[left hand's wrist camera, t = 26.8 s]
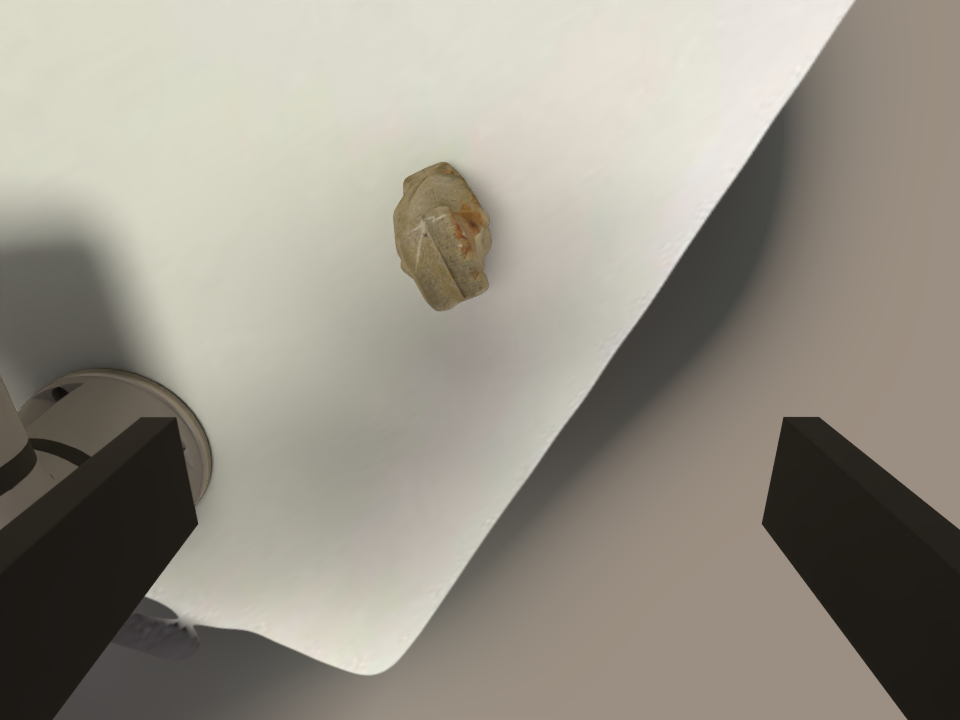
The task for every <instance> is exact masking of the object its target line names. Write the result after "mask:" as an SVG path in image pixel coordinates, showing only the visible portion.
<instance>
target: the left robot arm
mask: <svg viewBox="0 0 960 720" xmlns="http://www.w3.org/2000/svg"><path fill="white" fill-rule="evenodd" d="M210 473H211V455H210V449H209V445H208V442H207V439H206V436H205V434H204V432H203V430H202V428H201V426H200V424H199V422H198V421H197V419H196V418H195V417H194V415H193V414H192V413H191V411H190V410H189V409H188V408H187V407H186V406H185V405H184V404H183V403H182V402H181V401H180V400H179V399H178V398H177V397H176V396H174V395H173V394H172V393H171V392H169V391H168V390H166V389H165V388H163V387H162V386H160V385H158V384H157V383H155V382H153V381H151V380H149V379H147V378H144V377H142V376H139V375H136V374H133V373H130V372H126V371H121V370H115V369H102V368H100V369H87V370H81V371H77V372H73V373H71V374H68V375H66V376H64V377H61V378H59V379H58V380H56V381H54V382H52V383H50V384H49V385H47V386H45V387H44V388H42V389H41V390H39V391H38V392H37V393H36V394H35V395H34V396H33V397H32V398H31V399H29V400H28V401H27V402H26V404H25V405H24V406H23V407H22V409H21V410H20V411H19V413H17V411H16V409H15V407H14V405H13V402H12V400H11V398H10V396H9V393H8V391H7V389H6V387H5V385H4V382H3V380H2V378H1V376H0V720H53V718H54V717H55V715H56V714H57V713H58V712H59V710H60V709H61V707H62V706H63V705H64V703H65V702H66V701H67V699H68V698H69V697H70V695H71V694H72V693H73V691H74V690H75V689H76V687H77V686H78V685H79V683H80V682H81V681H82V679H83V678H84V677H85V675H86V674H87V673H88V671H89V670H90V669H91V667H92V666H93V664H94V663H95V662H96V661H97V659H98V658H99V656H100V655H101V654H102V652H103V651H104V650H105V648H106V647H107V646H108V644H109V643H110V642H111V640H112V639H113V638H114V636H115V635H116V634H117V632H118V631H119V630H120V628H121V627H122V626H123V624H124V623H125V622H126V620H127V619H128V618H129V616H130V615H131V613H132V612H133V611H134V609H135V608H136V607H137V605H138V604H139V603H140V601H141V600H142V599H143V597H144V596H145V595H146V593H147V592H148V591H149V589H150V588H151V587H152V585H153V584H154V583H155V581H156V580H157V579H158V577H159V576H160V575H161V573H162V572H163V571H164V569H165V568H166V566H167V565H168V564H169V562H170V561H171V560H172V558H173V557H174V556H175V554H176V553H177V552H178V550H179V549H180V548H181V546H182V545H183V544H184V542H185V541H186V540H187V538H188V537H189V536H190V534H191V533H192V532H193V530H194V529H195V528H196V526H197V525H198V521H197V516H196V511H195V505H196V503H197V502H198V501H199V500H200V498H201V497H202V495H203V493H204V492H205V490H206V488H207V485H208V482H209V478H210ZM762 525H763V526H764V528H765V529H766V530H767V532H768V533H769V534H770V536H771V537H772V538H773V540H774V541H775V542H776V544H777V545H778V546H779V548H780V549H781V550H782V552H783V553H784V554H785V556H786V557H787V558H788V560H789V561H790V562H791V564H792V565H793V566H794V568H795V569H796V571H797V572H798V573H799V575H800V576H801V577H802V579H803V580H804V581H805V583H806V584H807V585H808V587H809V588H810V589H811V591H812V592H813V593H814V595H815V596H816V597H817V599H818V600H819V601H820V603H821V604H822V605H823V607H824V608H825V609H826V611H827V612H828V613H829V615H830V616H831V618H832V619H833V620H834V622H835V623H836V624H837V626H838V627H839V628H840V630H841V631H842V632H843V634H844V635H845V636H846V638H847V639H848V640H849V642H850V643H851V644H852V646H853V647H854V648H855V650H856V651H857V652H858V654H859V655H860V656H861V658H862V659H863V661H864V662H865V663H866V665H867V666H868V667H869V669H870V670H871V671H872V672H873V674H874V675H875V677H876V678H877V679H878V681H879V682H880V683H881V685H882V686H883V687H884V689H885V690H886V691H887V693H888V694H889V695H890V697H891V698H892V699H893V701H894V702H895V703H896V705H897V706H898V708H899V709H900V710H901V712H902V713H903V714H904V716H905V717H906V718H907V720H960V530H959V529H958V528H957V527H956V526H954V525H953V524H952V523H951V522H949V521H948V520H947V519H946V518H944V517H943V516H942V515H941V514H939V513H938V512H937V511H936V510H934V509H933V508H932V507H931V506H929V505H928V504H927V503H926V502H924V501H923V500H922V499H921V498H919V497H918V496H917V495H916V494H914V493H913V492H912V491H911V490H909V489H908V488H907V487H906V486H904V485H903V484H902V483H901V482H899V481H898V480H897V479H896V478H894V477H893V476H892V475H891V474H889V473H888V472H887V471H886V470H884V469H883V468H882V467H881V466H879V465H878V464H877V463H876V462H874V461H873V460H872V459H871V458H869V457H868V456H867V455H866V454H864V453H863V452H862V451H861V450H859V449H858V448H857V447H856V446H854V445H853V444H852V443H851V442H849V441H848V440H847V439H846V438H844V437H843V436H842V435H841V434H839V433H838V432H837V431H836V430H834V429H833V428H832V427H831V426H830V425H828V424H827V423H826V422H825V421H823V420H822V419H821V418H820V417H784V418H783V422H782V427H781V432H780V437H779V442H778V447H777V452H776V457H775V461H774V466H773V471H772V476H771V481H770V486H769V491H768V496H767V501H766V506H765V511H764V516H763V521H762Z"/></svg>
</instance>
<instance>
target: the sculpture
mask: <svg viewBox="0 0 960 720" xmlns="http://www.w3.org/2000/svg"><path fill="white" fill-rule="evenodd" d="M403 189H404V196H403V197H402V199H401V201H400V202H399V204H398V205H397V207H396V209H395V211H394V216H393V218H394V231H395V242H396V248H397V252H398V255H399V257H400V259H401V268H402V270H403V271H404V272H405V273H406V274H408V275H409V276H410V277H412V278H413V279H414V281H415V282H416V284H417V286H418V288H419V290H420V292H421V294H422V295H423V297H424V299H425V300H426V302H427V303H428V304H429V305H430V306H431V307H432V308H433V309H435V310H436V311H445V310H449V309H452V308H453V307H454V306H456V305H457V304H458V303H460V302H462V301H465V300H467V299H470V298H473V297H476V296H478V295H480V294H482V293H483V292H485V291H486V290H487V289H488V287H489V283H488V280H487V277H486V275H485V272H484V256H485V255H486V254H487V253H488V251H489V250H490V247H491V235H490V231H489V228H488V225H489V222H490V220H489V217H488V215H487V214H486V212H485V211H484V210H483V208H482V207H481V205H480V204H479V202H478V200H477V198H476V197H475V195H474V194H473V192H472V190H471V189H470V187H469V186H468V184H467V183H466V181H465V179H464V178H463V177H461V175H460V174H459V173H458V172H457V171H456V170H455V169H454V168H453V167H452V166H451V165H450V164H448V163H447V162H441V163H438V164H435V165H432V166H430V167H427V168H425V169H423V170H421V171H419V172H417V173H415V174H413V175H411V176H409V177H407V178H406V179H405V180H404V183H403Z"/></svg>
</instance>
